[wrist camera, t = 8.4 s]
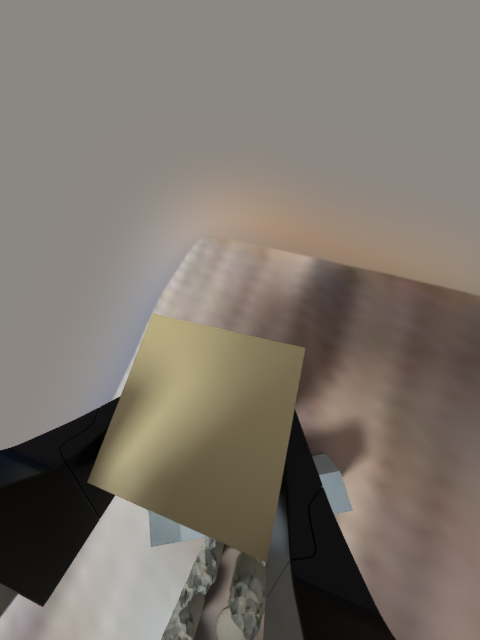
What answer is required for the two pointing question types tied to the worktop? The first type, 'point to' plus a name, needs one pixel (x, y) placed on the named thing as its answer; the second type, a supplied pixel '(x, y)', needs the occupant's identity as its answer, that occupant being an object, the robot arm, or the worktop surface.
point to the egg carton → (244, 600)
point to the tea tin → (204, 431)
